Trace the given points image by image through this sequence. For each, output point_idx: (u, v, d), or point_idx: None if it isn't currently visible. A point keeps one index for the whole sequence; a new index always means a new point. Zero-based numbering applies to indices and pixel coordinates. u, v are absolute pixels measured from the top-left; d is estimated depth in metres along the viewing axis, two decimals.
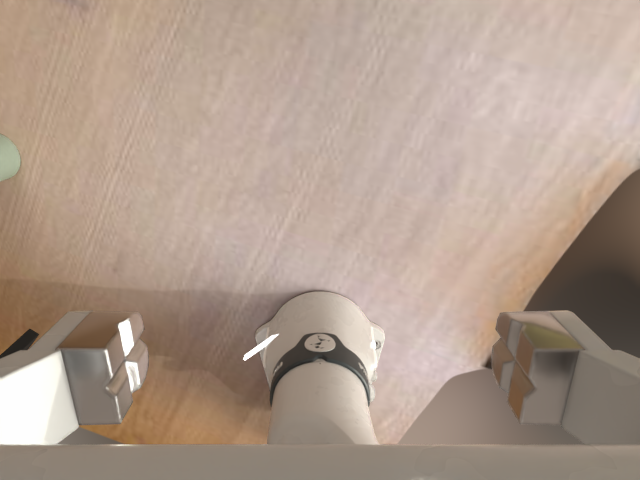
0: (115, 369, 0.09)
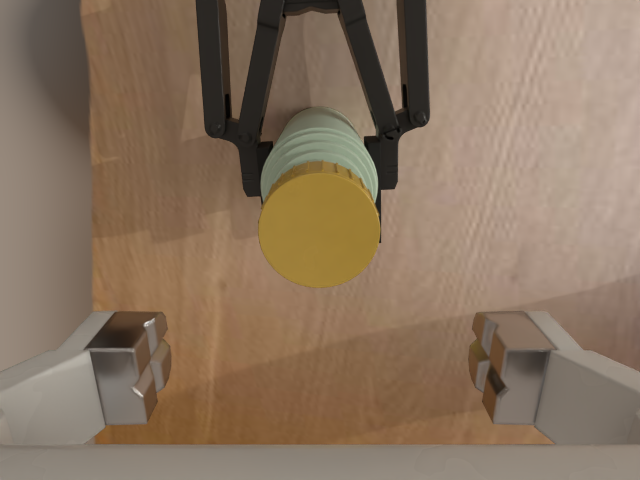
0: (142, 369, 0.09)
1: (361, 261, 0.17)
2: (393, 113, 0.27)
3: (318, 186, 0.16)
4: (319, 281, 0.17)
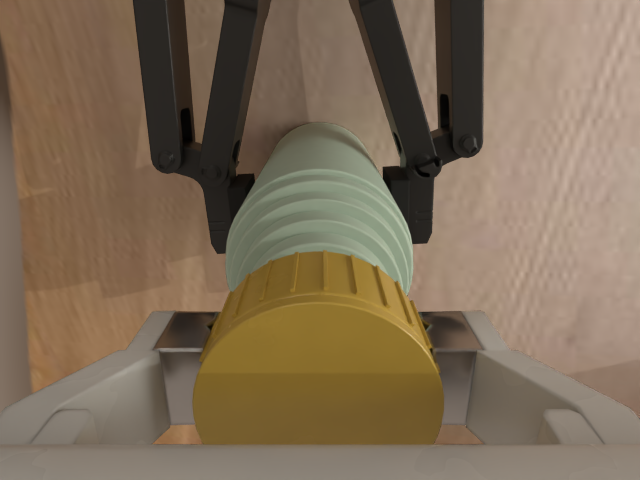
0: None
1: None
2: (429, 137, 0.18)
3: (316, 328, 0.07)
4: None
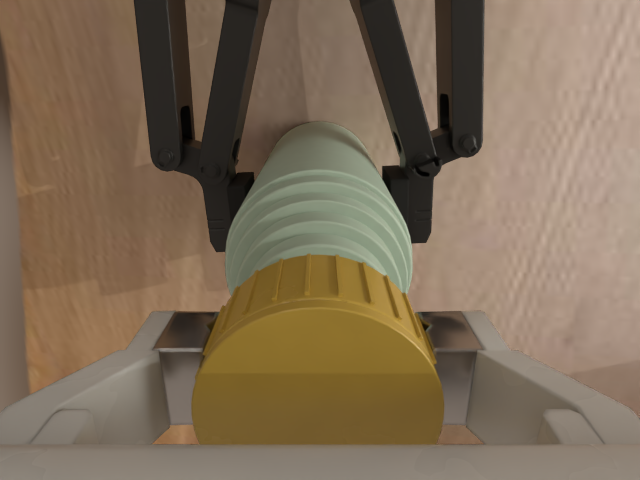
0: None
1: (400, 354, 0.08)
2: (429, 137, 0.18)
3: (218, 405, 0.08)
4: (424, 433, 0.08)
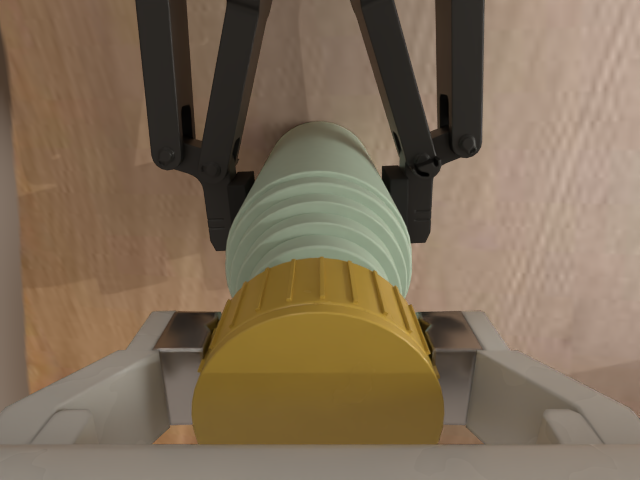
0: None
1: (250, 347, 0.07)
2: (428, 137, 0.18)
3: None
4: (358, 334, 0.07)
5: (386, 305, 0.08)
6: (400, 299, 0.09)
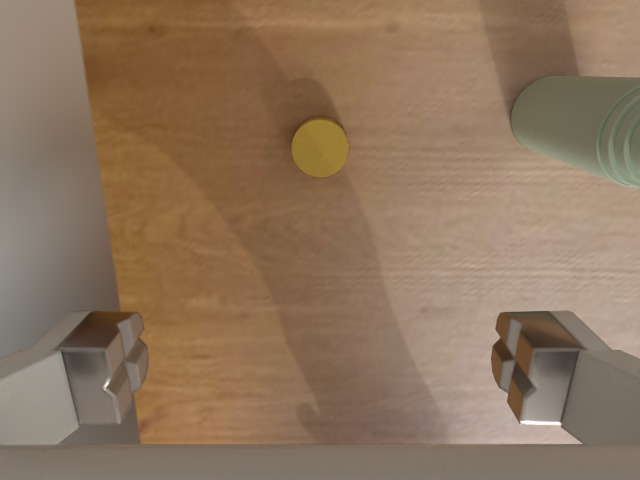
0: (115, 369, 0.09)
1: (344, 147, 0.36)
2: None
3: (305, 131, 0.35)
4: (335, 168, 0.36)
5: None
6: None
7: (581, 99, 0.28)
